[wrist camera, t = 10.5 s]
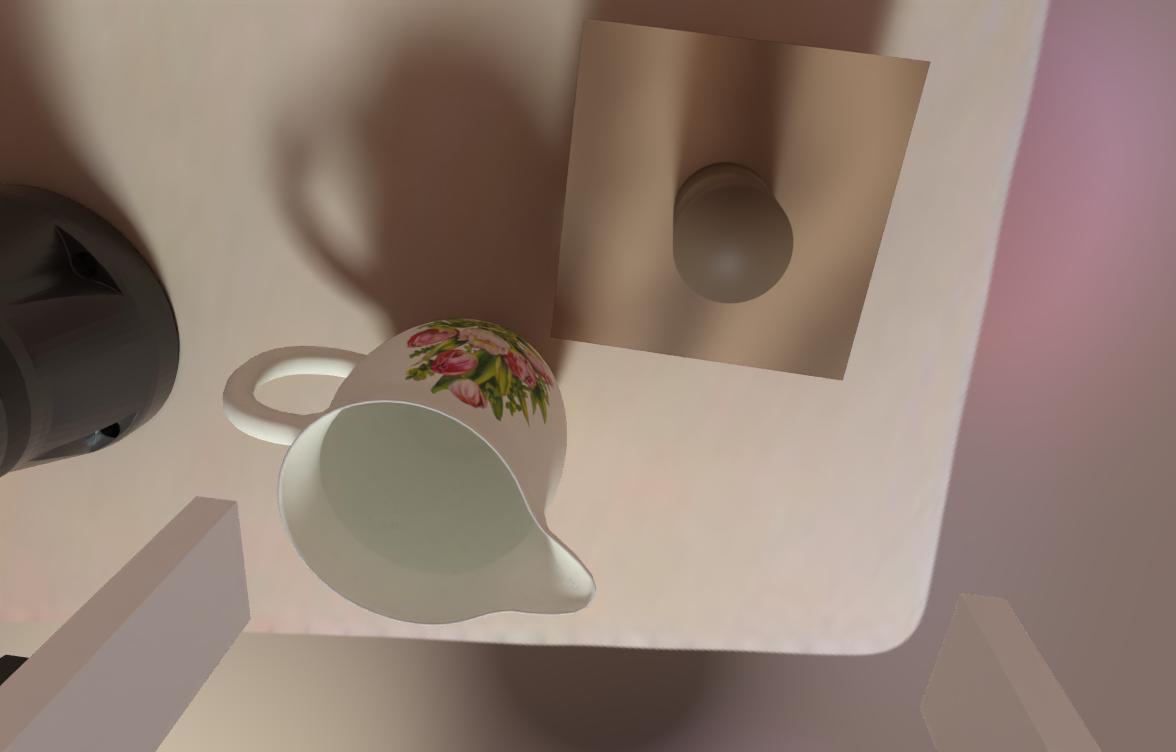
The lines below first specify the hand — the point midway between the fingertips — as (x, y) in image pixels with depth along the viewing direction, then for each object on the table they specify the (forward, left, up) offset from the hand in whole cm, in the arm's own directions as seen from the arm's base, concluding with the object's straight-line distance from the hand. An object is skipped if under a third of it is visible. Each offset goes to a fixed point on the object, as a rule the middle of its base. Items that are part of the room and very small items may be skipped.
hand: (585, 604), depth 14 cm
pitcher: (-9, -8, -26) cm, 29 cm away
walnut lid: (+3, +4, -21) cm, 22 cm away
